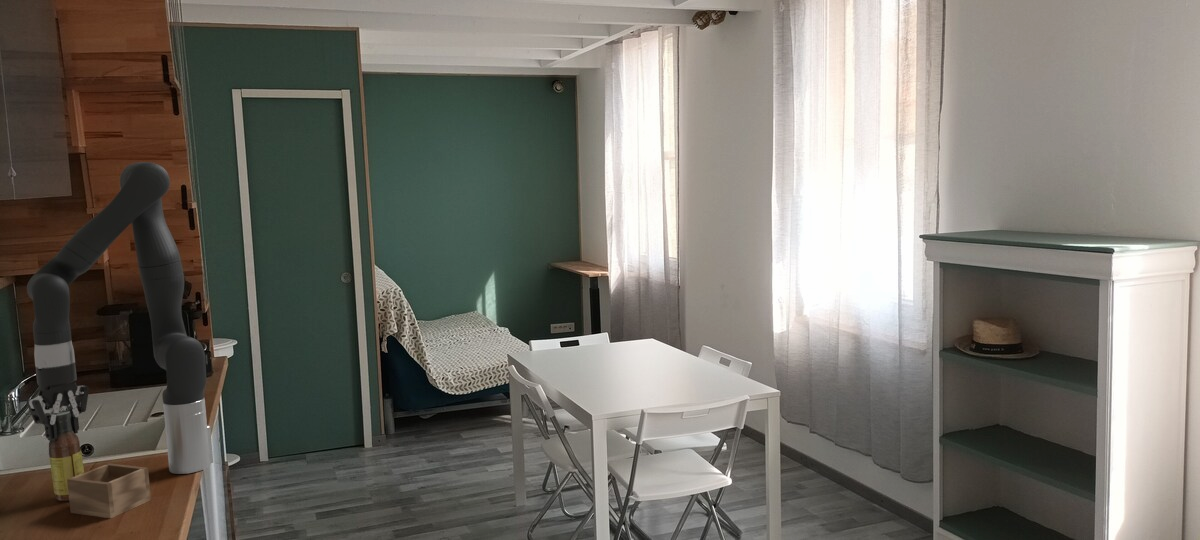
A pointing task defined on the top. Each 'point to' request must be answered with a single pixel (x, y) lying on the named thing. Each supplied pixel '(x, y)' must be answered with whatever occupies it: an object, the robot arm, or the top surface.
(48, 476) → the top surface
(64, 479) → the sauce bottle
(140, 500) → the box
